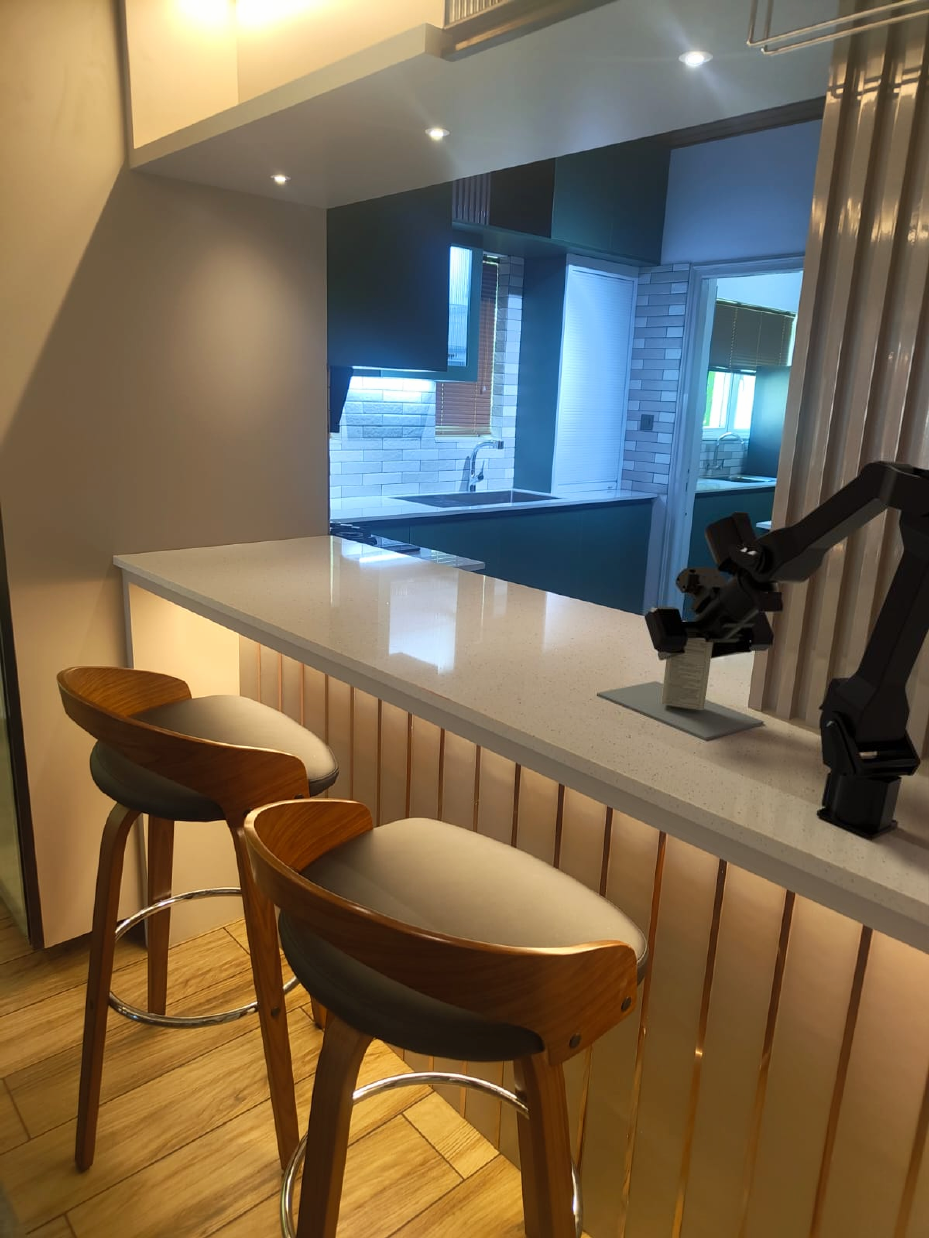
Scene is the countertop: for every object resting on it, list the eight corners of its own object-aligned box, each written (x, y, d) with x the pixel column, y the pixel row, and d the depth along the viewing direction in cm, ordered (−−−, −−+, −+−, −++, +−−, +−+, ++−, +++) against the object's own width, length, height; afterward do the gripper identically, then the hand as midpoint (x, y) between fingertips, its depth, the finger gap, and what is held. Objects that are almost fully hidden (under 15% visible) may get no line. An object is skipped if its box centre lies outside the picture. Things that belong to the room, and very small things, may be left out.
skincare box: (704, 703, 130) (717, 624, 128) (703, 712, 126) (716, 630, 124) (661, 695, 132) (673, 617, 130) (658, 704, 128) (670, 623, 125)
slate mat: (763, 723, 127) (763, 721, 127) (705, 740, 118) (705, 737, 118) (655, 683, 142) (655, 681, 142) (596, 695, 133) (597, 692, 133)
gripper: (775, 553, 124) (717, 611, 137) (660, 550, 118) (612, 610, 130) (803, 621, 118) (740, 674, 131) (684, 621, 112) (631, 676, 125)
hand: (681, 657), depth 130 cm, fingers closed on skincare box, 7 cm apart
